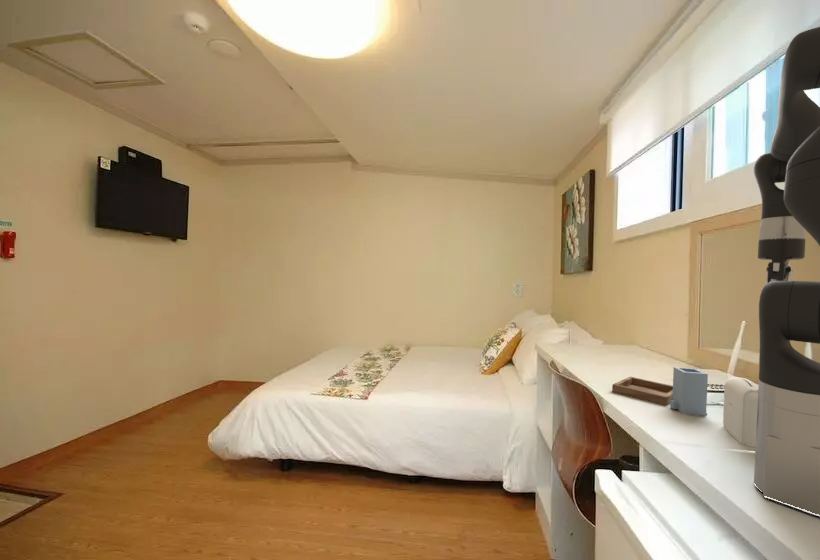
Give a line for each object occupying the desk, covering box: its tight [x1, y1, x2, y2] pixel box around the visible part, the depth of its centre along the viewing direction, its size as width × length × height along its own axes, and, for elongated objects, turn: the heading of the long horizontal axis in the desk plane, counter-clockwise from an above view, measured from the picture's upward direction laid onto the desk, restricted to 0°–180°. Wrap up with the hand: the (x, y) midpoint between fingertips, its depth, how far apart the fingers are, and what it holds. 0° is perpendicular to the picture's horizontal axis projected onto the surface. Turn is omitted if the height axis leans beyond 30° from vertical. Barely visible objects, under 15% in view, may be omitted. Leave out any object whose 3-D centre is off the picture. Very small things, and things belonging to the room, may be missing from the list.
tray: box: [612, 376, 673, 407], centre depth 102 cm, size 13×13×2 cm
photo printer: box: [722, 376, 759, 448], centre depth 76 cm, size 10×4×12 cm, turn 157°
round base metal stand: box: [670, 407, 708, 417], centre depth 90 cm, size 7×7×6 cm
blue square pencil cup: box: [669, 366, 709, 415], centre depth 90 cm, size 5×6×10 cm
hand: (777, 309), depth 83 cm, fingers open, 8 cm apart
